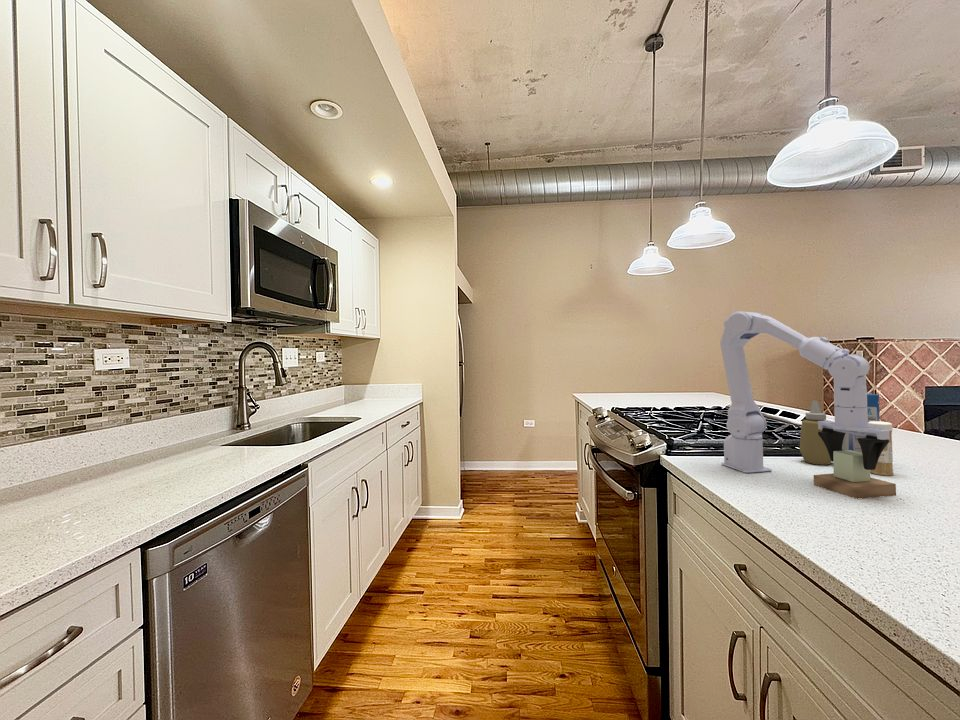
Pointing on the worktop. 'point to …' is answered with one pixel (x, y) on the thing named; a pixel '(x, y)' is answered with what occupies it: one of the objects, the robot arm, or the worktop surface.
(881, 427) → the sprinkles bottle
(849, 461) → the sage block
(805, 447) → the squeeze bottle
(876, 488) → the walnut block
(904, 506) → the worktop surface
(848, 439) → the milk carton
